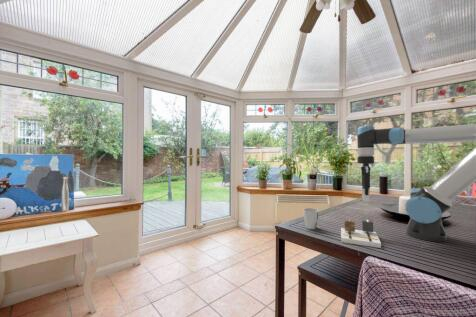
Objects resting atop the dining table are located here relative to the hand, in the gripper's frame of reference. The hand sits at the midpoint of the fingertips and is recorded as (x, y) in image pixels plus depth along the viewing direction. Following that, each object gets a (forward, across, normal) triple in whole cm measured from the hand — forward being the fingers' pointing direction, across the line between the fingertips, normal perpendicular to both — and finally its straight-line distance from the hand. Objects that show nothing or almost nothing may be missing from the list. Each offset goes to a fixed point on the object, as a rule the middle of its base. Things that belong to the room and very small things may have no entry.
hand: (365, 199), depth 112 cm
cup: (+17, +5, -27) cm, 32 cm away
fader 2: (+14, +8, 0) cm, 16 cm away
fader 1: (+14, +11, -8) cm, 19 cm away
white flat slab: (+17, +12, -4) cm, 21 cm away
